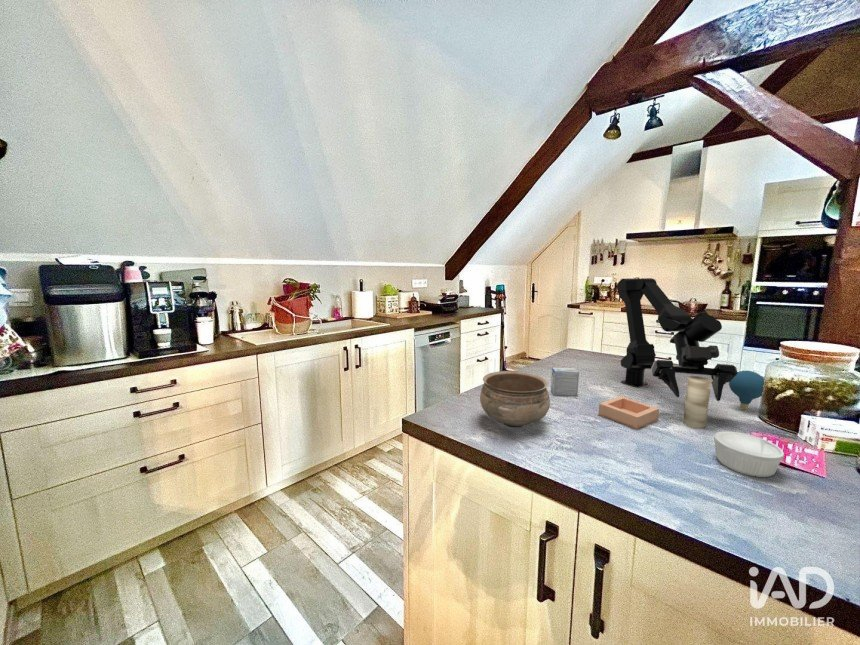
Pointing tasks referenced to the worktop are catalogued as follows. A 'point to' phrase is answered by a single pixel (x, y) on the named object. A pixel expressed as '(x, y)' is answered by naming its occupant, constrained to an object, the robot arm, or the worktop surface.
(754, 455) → the ramekin
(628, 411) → the tray
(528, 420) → the cooking pot
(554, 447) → the worktop surface
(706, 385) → the vase
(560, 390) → the medicine box
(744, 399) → the light bulb
